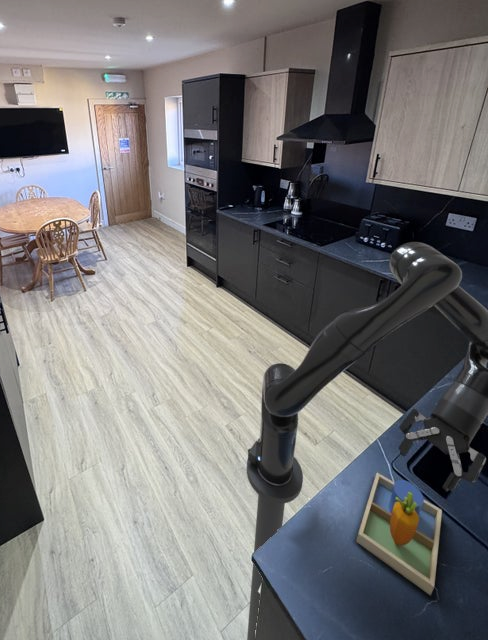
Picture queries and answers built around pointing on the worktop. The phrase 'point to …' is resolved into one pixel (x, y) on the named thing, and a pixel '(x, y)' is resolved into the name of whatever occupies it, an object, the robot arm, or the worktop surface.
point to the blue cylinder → (406, 494)
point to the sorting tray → (406, 559)
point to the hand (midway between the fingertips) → (422, 471)
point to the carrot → (404, 520)
